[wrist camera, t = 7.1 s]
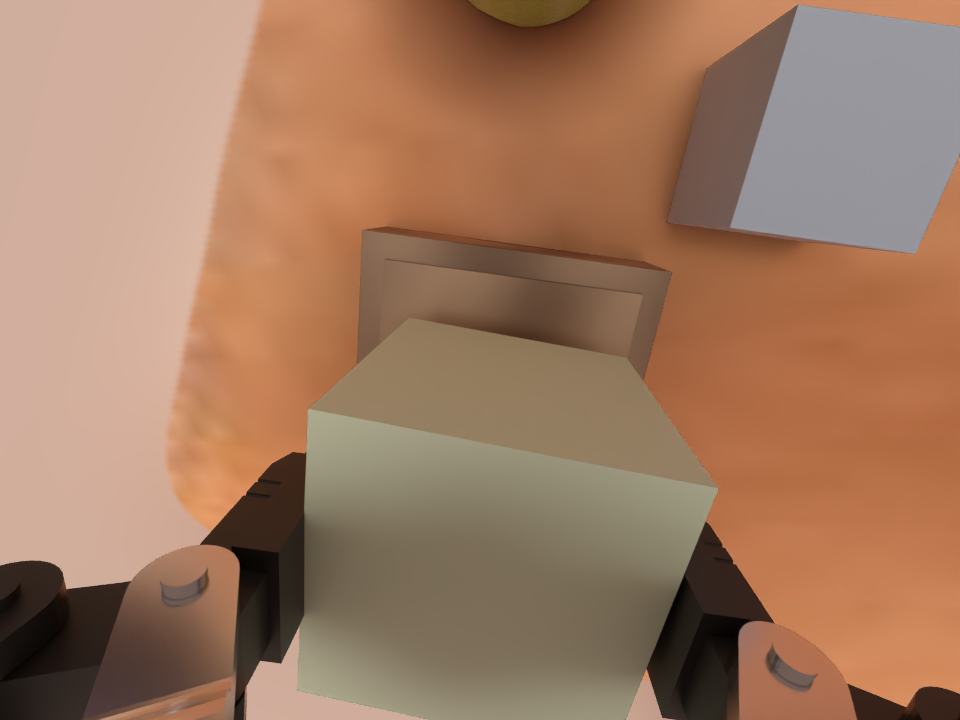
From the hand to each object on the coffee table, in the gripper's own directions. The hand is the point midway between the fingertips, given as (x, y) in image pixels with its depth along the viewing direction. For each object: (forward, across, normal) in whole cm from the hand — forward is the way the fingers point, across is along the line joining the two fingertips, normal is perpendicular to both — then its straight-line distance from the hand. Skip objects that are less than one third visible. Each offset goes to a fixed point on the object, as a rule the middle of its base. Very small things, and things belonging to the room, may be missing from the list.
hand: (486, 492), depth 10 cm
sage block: (+3, 0, 0) cm, 3 cm away
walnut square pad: (+9, 0, 0) cm, 9 cm away
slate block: (+9, -8, -9) cm, 15 cm away
